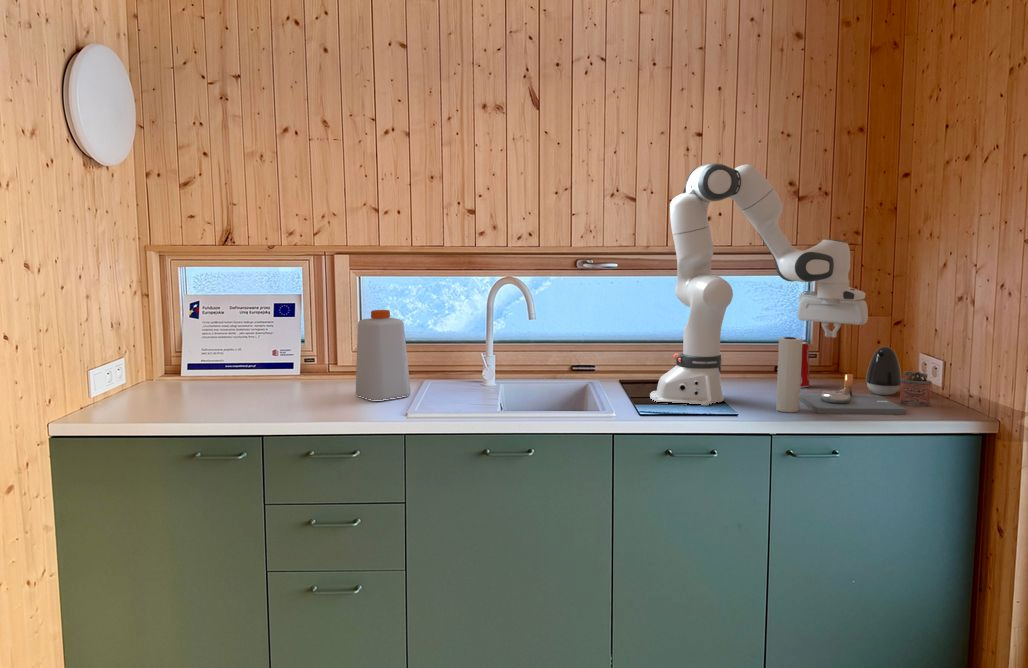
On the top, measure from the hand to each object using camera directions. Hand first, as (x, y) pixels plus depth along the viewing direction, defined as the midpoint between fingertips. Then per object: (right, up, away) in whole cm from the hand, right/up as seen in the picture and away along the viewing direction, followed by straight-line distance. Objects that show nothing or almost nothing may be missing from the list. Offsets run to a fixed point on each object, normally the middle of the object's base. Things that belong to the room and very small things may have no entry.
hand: (830, 337), depth 222 cm
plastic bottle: (-140, -20, +11) cm, 142 cm away
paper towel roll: (-18, -22, -13) cm, 31 cm away
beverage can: (-2, -17, +19) cm, 26 cm away
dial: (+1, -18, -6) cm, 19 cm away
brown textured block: (+22, -20, -8) cm, 31 cm away
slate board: (+1, -21, -9) cm, 22 cm away
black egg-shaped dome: (+20, -18, +7) cm, 28 cm away
